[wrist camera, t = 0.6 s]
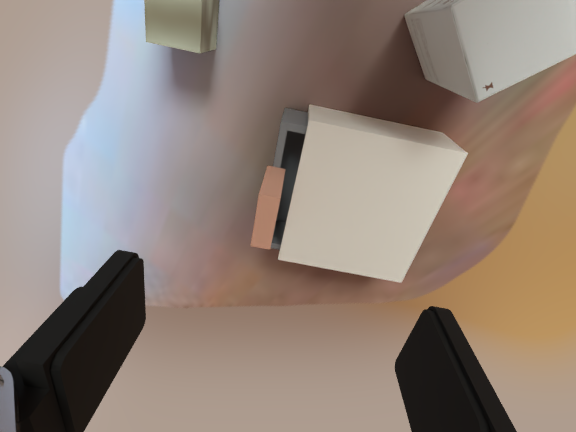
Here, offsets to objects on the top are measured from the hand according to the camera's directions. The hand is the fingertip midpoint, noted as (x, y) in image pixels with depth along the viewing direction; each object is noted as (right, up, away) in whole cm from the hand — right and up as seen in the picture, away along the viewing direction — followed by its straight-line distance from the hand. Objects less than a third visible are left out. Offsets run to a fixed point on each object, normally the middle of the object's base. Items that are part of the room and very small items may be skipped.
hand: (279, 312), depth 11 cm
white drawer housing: (+9, +7, +31) cm, 33 cm away
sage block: (-9, +24, +23) cm, 34 cm away
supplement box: (+17, +22, +22) cm, 36 cm away
